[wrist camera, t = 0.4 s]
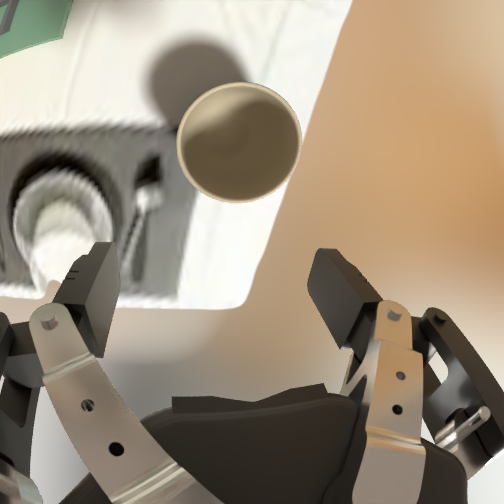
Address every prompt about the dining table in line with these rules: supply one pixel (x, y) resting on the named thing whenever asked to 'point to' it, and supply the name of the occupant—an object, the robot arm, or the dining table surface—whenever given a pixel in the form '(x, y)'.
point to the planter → (238, 142)
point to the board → (31, 23)
